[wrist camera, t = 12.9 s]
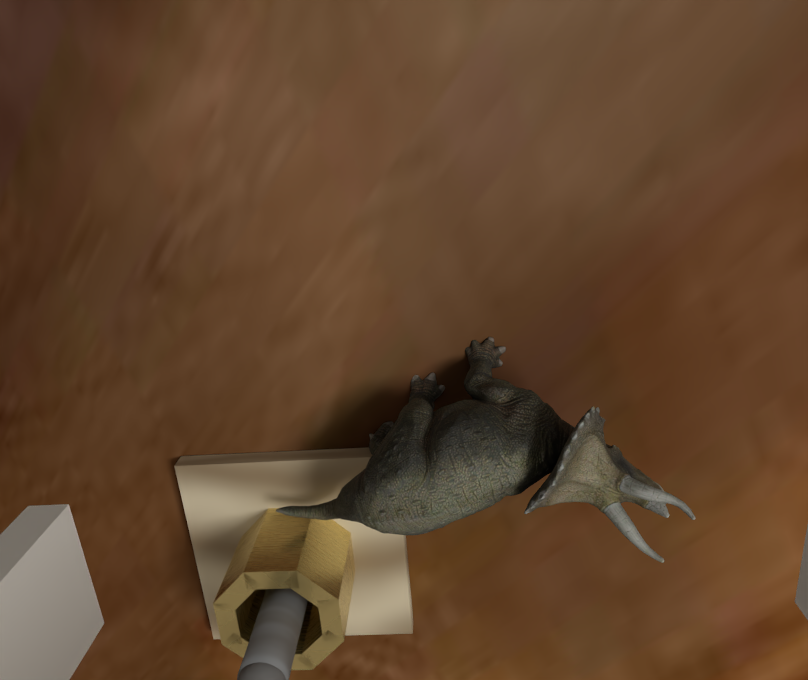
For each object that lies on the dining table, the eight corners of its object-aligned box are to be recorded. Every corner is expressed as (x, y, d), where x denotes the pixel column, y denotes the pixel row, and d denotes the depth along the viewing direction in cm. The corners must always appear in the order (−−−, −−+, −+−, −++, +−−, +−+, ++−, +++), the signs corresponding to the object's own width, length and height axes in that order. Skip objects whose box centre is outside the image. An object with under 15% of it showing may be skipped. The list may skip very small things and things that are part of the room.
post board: (181, 456, 42) (86, 594, 31) (397, 446, 42) (384, 584, 30) (218, 626, 47) (149, 800, 36) (413, 620, 46) (407, 797, 35)
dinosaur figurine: (292, 491, 43) (248, 619, 33) (257, 375, 41) (196, 475, 30) (631, 438, 41) (699, 558, 31) (619, 312, 38) (690, 396, 28)
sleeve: (236, 509, 42) (206, 573, 37) (347, 505, 42) (334, 569, 36) (253, 599, 45) (227, 671, 39) (358, 595, 44) (347, 668, 39)
